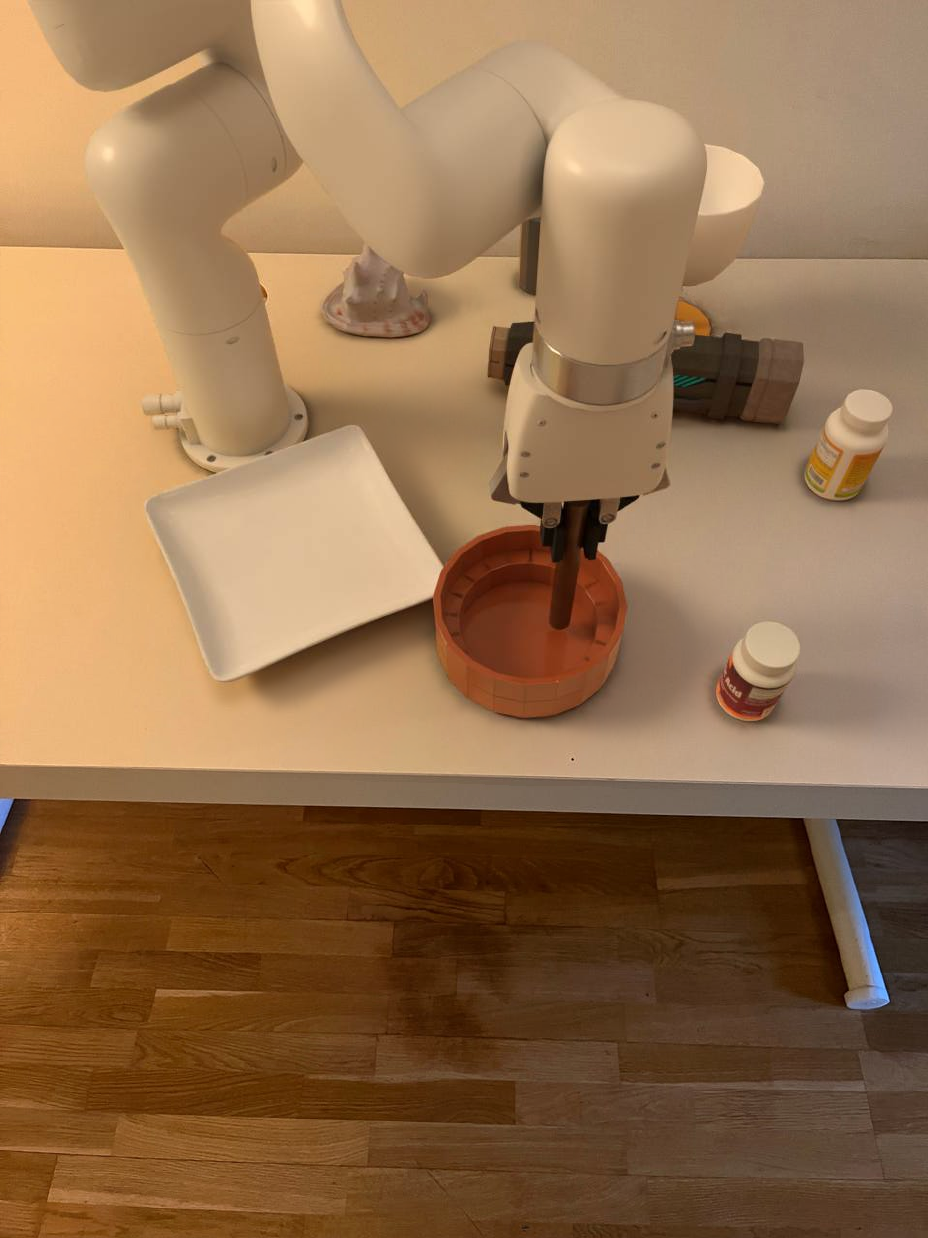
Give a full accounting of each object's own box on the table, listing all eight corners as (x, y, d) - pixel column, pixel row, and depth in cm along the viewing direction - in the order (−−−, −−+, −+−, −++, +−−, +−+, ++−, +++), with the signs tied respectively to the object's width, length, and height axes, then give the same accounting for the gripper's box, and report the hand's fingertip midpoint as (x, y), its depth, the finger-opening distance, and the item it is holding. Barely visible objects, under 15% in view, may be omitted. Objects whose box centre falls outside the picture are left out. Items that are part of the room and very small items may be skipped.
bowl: (443, 727, 72) (440, 692, 67) (431, 573, 80) (428, 531, 75) (631, 712, 73) (642, 676, 68) (600, 561, 81) (608, 518, 76)
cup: (616, 288, 101) (639, 138, 87) (722, 296, 100) (763, 146, 86) (610, 359, 95) (634, 210, 81) (723, 369, 94) (768, 220, 80)
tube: (499, 374, 98) (790, 377, 92) (492, 428, 96) (789, 435, 90) (484, 308, 88) (809, 307, 82) (476, 367, 86) (809, 370, 80)
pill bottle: (708, 673, 75) (732, 618, 68) (765, 669, 75) (795, 613, 68) (722, 725, 72) (749, 674, 65) (781, 720, 72) (814, 668, 65)
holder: (520, 296, 101) (524, 222, 93) (516, 270, 103) (519, 197, 96) (560, 293, 101) (567, 220, 94) (555, 268, 104) (561, 194, 96)
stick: (549, 630, 75) (565, 507, 61) (547, 611, 76) (563, 487, 62) (571, 629, 75) (591, 507, 61) (569, 611, 76) (589, 486, 62)
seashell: (346, 271, 104) (335, 195, 96) (445, 291, 102) (443, 214, 94) (312, 328, 98) (298, 252, 91) (416, 349, 96) (411, 274, 89)
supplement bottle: (866, 469, 86) (907, 393, 78) (854, 509, 84) (895, 434, 76) (810, 452, 88) (844, 375, 80) (796, 491, 85) (830, 415, 77)
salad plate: (223, 705, 73) (214, 685, 70) (148, 520, 83) (137, 496, 80) (457, 607, 78) (457, 584, 75) (360, 444, 88) (357, 419, 86)
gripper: (722, 294, 53) (666, 499, 69) (454, 311, 53) (459, 513, 68) (754, 383, 49) (687, 579, 65) (464, 403, 49) (467, 595, 64)
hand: (570, 544), depth 66 cm, fingers closed on stick, 1 cm apart
